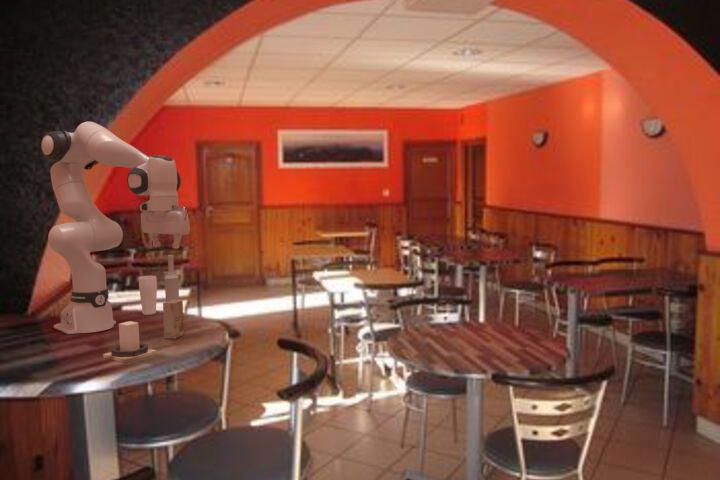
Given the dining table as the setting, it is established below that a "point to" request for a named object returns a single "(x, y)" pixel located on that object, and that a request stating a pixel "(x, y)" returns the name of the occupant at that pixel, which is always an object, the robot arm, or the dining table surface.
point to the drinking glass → (148, 294)
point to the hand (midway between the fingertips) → (166, 247)
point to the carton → (129, 336)
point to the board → (128, 359)
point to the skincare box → (173, 319)
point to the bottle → (171, 282)
